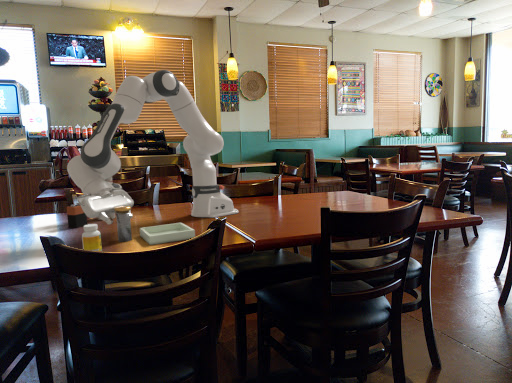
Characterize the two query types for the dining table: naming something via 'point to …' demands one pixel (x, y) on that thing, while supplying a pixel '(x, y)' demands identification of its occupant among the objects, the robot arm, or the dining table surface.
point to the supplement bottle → (91, 238)
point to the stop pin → (123, 223)
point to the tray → (166, 233)
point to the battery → (76, 216)
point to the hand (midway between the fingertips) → (121, 220)
